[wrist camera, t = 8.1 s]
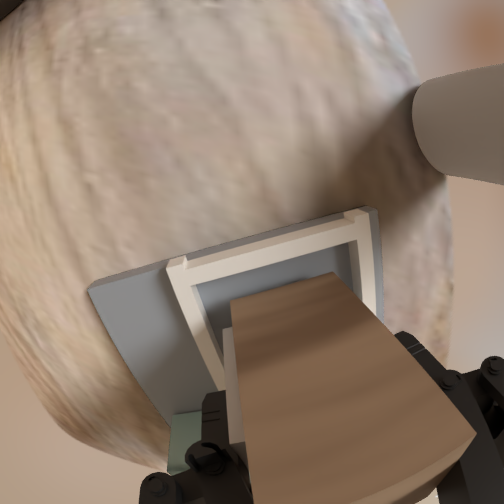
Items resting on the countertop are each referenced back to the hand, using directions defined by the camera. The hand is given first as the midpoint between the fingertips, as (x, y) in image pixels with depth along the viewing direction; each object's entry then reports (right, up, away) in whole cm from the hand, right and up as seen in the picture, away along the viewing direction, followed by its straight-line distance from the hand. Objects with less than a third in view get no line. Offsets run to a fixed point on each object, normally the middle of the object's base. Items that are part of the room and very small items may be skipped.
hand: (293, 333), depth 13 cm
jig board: (-1, -3, +4) cm, 5 cm away
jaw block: (0, 0, 0) cm, 0 cm away
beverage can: (+10, +12, 0) cm, 16 cm away
